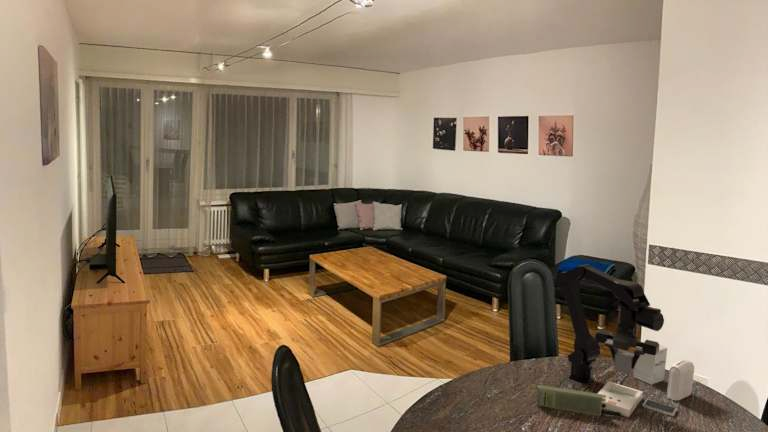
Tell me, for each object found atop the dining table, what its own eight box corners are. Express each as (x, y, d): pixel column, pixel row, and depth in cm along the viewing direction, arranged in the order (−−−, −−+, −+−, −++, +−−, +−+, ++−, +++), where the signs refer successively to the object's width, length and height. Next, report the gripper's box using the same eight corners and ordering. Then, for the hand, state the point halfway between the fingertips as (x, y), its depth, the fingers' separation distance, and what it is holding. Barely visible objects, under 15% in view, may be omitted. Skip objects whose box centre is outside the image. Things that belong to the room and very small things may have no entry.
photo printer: (680, 389, 179) (684, 355, 178) (693, 394, 176) (697, 360, 174) (664, 397, 174) (668, 362, 172) (677, 402, 170) (681, 367, 168)
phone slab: (673, 416, 161) (673, 414, 161) (642, 406, 167) (642, 404, 167) (676, 410, 165) (677, 407, 165) (646, 401, 171) (646, 398, 171)
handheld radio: (536, 402, 169) (619, 415, 162) (536, 407, 166) (620, 421, 159) (537, 383, 168) (621, 395, 161) (537, 388, 165) (622, 401, 158)
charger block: (613, 370, 171) (615, 354, 170) (618, 365, 175) (619, 349, 174) (630, 374, 168) (631, 358, 167) (633, 369, 172) (635, 353, 171)
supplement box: (652, 385, 182) (655, 351, 180) (633, 377, 188) (636, 344, 187) (664, 380, 186) (668, 347, 184) (645, 372, 192) (648, 340, 190)
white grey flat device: (592, 405, 167) (593, 397, 167) (607, 388, 179) (608, 380, 179) (628, 417, 160) (629, 409, 160) (642, 398, 172) (642, 391, 172)
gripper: (591, 321, 169) (587, 366, 171) (654, 335, 157) (649, 383, 159) (601, 312, 177) (597, 355, 179) (661, 325, 166) (657, 371, 168)
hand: (624, 366), depth 171 cm, fingers closed on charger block, 5 cm apart
